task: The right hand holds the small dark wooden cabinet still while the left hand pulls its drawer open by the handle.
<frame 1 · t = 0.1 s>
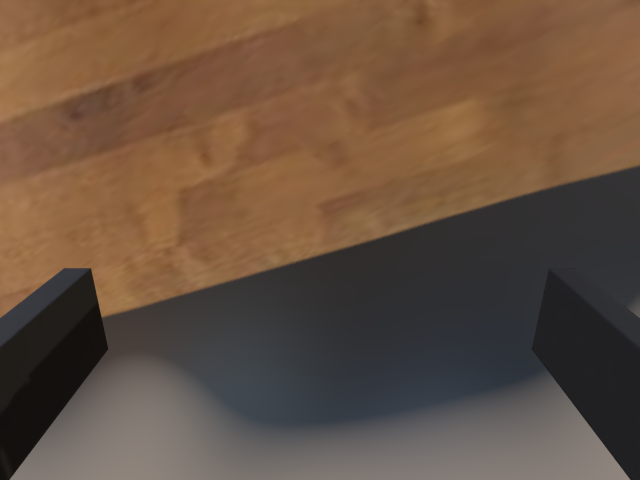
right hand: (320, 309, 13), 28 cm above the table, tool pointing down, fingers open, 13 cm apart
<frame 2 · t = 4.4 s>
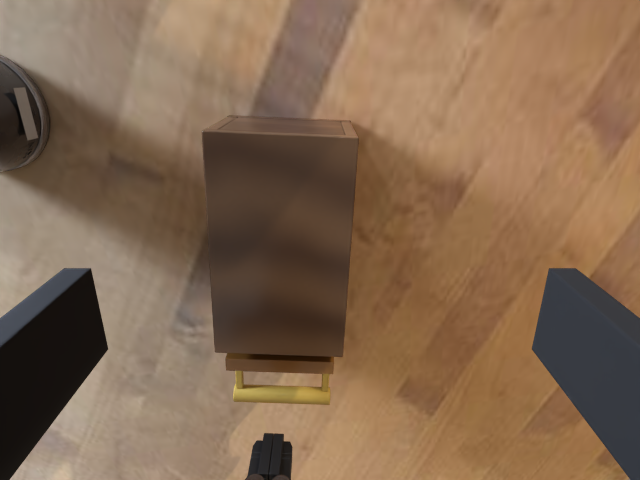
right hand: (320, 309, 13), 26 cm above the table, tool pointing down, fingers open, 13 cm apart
cabinet: (288, 215, 39), on the table
drawer: (283, 297, 37), point 4 cm above the table, slide at 1.2 cm
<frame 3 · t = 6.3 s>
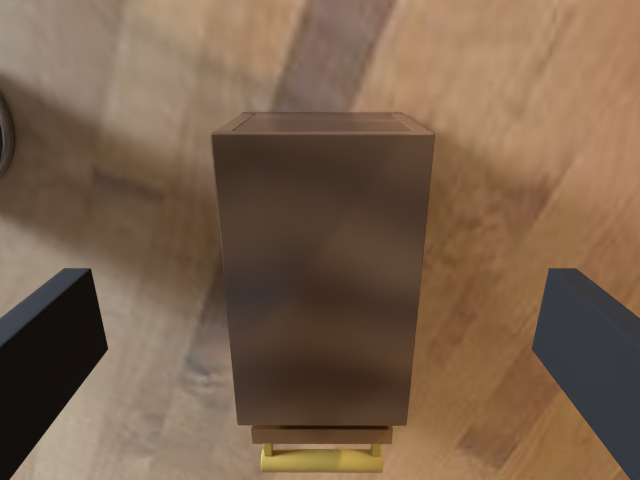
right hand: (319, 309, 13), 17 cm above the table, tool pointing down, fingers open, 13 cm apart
cabinet: (322, 236, 31), on the table
drawer: (322, 343, 29), point 4 cm above the table, slide at 1.2 cm
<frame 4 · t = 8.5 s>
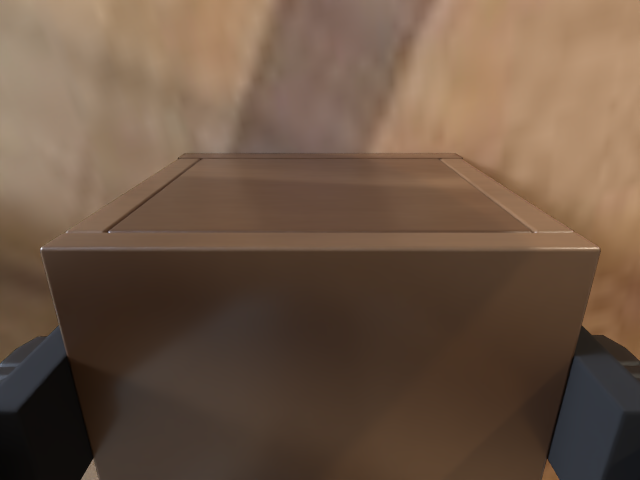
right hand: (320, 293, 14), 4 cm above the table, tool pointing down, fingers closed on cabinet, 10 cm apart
cabinet: (320, 346, 19), on the table, touching right hand
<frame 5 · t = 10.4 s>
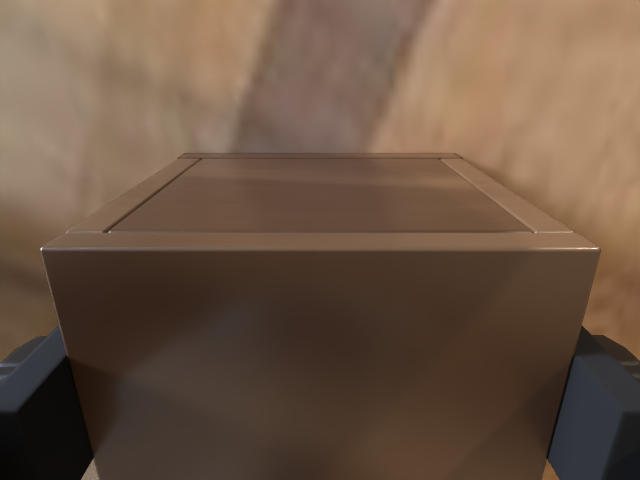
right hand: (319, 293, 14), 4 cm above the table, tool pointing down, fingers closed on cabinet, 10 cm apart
cabinet: (320, 346, 19), on the table, touching right hand
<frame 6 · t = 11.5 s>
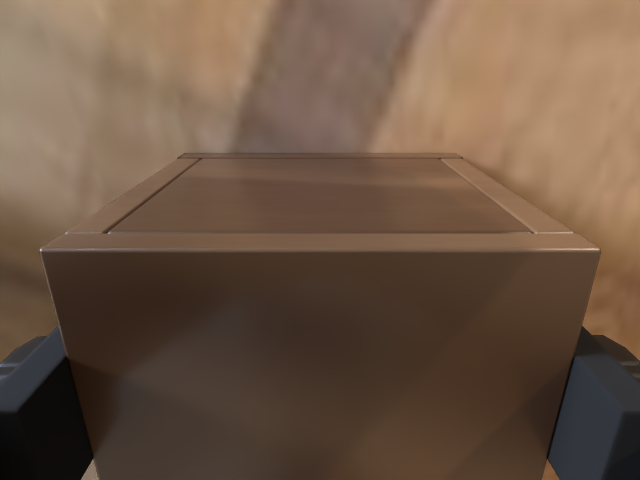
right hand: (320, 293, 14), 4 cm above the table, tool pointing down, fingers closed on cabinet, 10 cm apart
cabinet: (320, 346, 19), on the table, touching right hand
when the right hand's fingers open (4 cm above the table, at t = 13.1 s): cabinet stays where it is, on the table.
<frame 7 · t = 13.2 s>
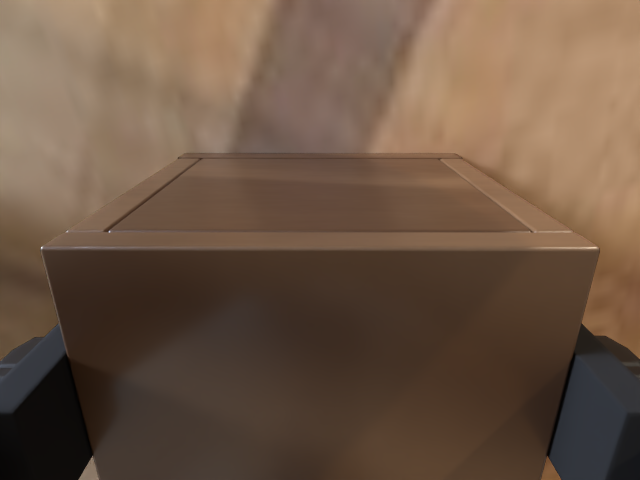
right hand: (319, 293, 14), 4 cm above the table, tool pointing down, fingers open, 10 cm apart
cabinet: (319, 346, 19), on the table
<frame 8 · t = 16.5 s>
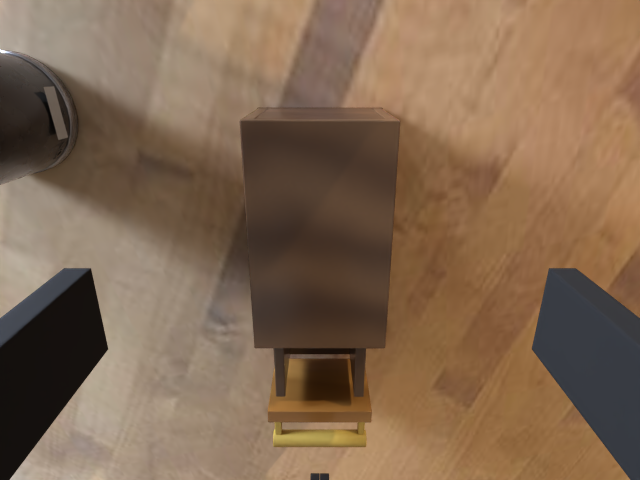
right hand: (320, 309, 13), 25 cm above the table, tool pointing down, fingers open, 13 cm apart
cabinet: (319, 207, 38), on the table
drawer: (319, 348, 38), point 4 cm above the table, slide at 6.9 cm
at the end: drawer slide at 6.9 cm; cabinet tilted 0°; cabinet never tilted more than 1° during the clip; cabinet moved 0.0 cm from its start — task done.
